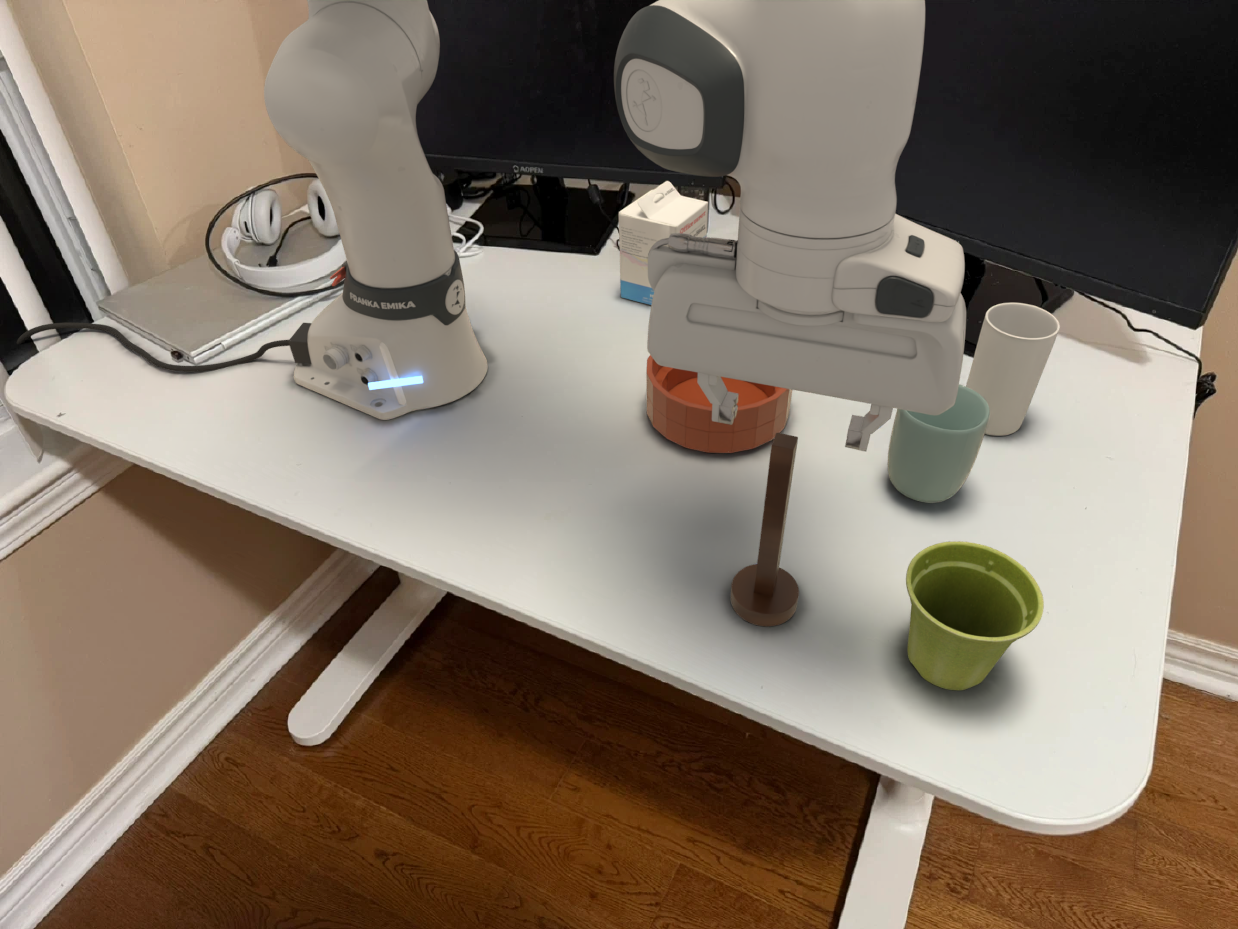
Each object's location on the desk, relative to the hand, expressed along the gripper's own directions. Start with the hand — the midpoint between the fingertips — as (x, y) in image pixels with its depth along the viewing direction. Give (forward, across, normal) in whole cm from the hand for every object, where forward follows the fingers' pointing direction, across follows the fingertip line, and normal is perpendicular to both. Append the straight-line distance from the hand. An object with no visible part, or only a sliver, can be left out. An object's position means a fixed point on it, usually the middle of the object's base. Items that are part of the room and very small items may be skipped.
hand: (789, 431), depth 60 cm
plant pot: (+19, +15, -1) cm, 24 cm away
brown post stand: (+18, 0, 0) cm, 19 cm away
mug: (+19, +17, +34) cm, 42 cm away
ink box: (+18, -25, +47) cm, 56 cm away
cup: (+19, +11, +19) cm, 29 cm away
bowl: (+18, -11, +24) cm, 32 cm away
